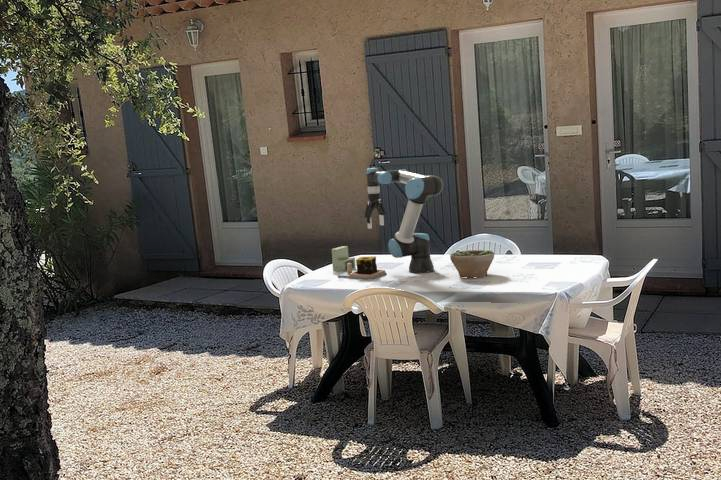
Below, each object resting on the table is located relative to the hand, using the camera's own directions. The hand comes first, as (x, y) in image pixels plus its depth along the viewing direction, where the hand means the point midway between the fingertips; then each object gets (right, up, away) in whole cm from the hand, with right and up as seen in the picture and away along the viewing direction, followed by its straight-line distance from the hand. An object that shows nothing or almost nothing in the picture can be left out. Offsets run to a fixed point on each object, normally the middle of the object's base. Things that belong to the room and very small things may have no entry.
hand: (376, 226), depth 488 cm
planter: (+56, -29, -37) cm, 73 cm away
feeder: (-20, -27, +10) cm, 35 cm away
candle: (-6, -29, -18) cm, 34 cm away
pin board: (-9, -30, -15) cm, 35 cm away
